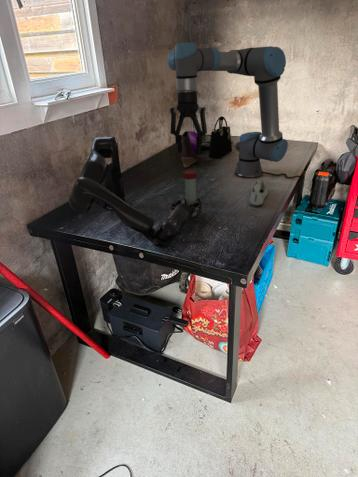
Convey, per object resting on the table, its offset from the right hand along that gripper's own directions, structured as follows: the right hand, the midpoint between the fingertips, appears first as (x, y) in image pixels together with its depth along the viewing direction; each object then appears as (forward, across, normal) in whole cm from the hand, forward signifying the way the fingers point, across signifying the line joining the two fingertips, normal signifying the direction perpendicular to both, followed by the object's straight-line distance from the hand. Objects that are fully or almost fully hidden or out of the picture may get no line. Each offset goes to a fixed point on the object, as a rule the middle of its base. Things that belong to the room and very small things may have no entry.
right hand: (189, 152), depth 134 cm
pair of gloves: (+28, +24, -119) cm, 124 cm away
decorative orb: (+28, +31, -94) cm, 103 cm away
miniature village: (+28, -11, -119) cm, 123 cm away
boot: (+28, +25, -72) cm, 82 cm away
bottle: (+28, 0, 0) cm, 28 cm away
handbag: (+28, +9, -94) cm, 98 cm away
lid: (+9, 0, 0) cm, 9 cm away
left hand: (+22, 0, -3) cm, 22 cm away
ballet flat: (+28, -26, -26) cm, 46 cm away
